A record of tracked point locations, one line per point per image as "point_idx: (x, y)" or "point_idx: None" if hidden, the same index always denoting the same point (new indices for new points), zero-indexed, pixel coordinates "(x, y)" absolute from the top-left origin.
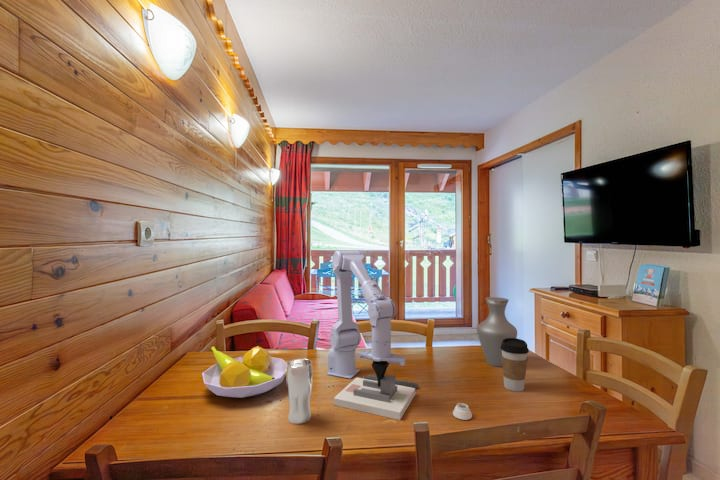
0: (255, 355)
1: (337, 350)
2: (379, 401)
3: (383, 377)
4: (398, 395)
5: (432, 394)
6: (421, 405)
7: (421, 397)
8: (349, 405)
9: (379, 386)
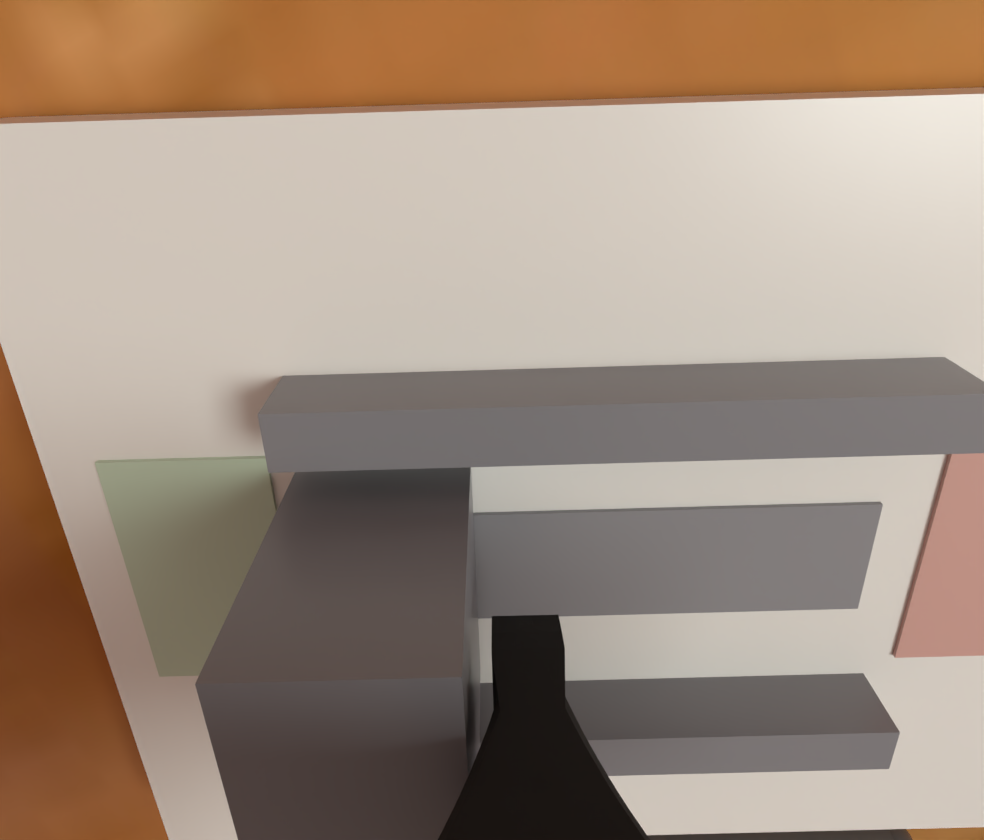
0: None
1: None
2: (439, 345)
3: None
4: None
5: (45, 835)
6: (4, 601)
7: (109, 748)
8: (927, 91)
9: (526, 616)
